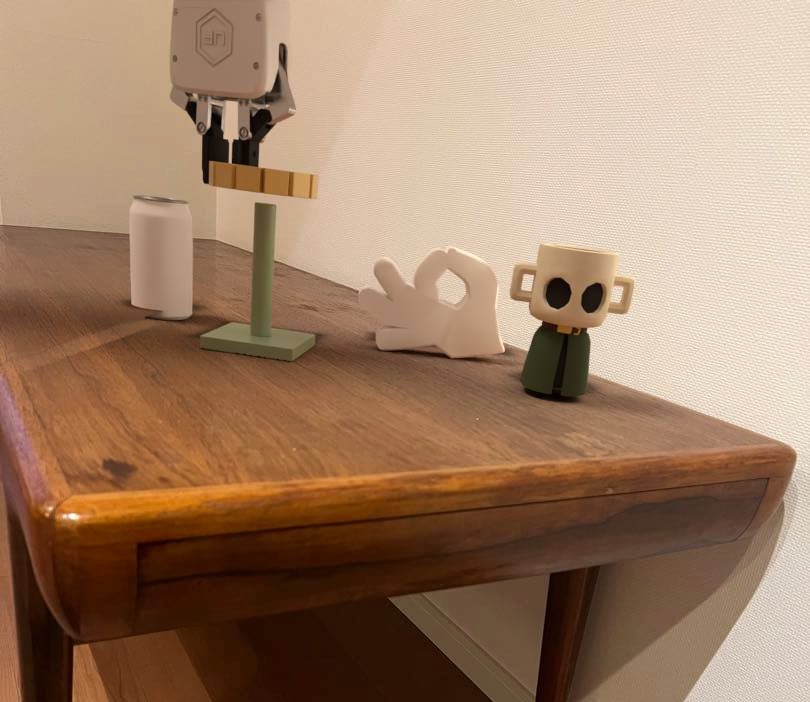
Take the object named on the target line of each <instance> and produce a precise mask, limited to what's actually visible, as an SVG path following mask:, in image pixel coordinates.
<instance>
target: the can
mask: <svg viewBox="0 0 810 702" xmlns="http://www.w3.org/2000/svg"><path fill="white" fill-rule="evenodd" d="M132 198H133V202H132V203H131V206H130V208H129V210H128V211H129V213H128V218H129V219H128V225H129V227H128V229H129V266H130V268H129V269H130V297H131V298H130V300H131V305H132V306H134V307H137V308H140V309H146V310H153V311H159V312H155V313H152V314H149V315H145V316H143V318H144V319H150V320H157V321H158V320H159V321H183V320H188V319H190V317H191V316H192V315H193V293H194V292H193V289H194V286H193V285H194V284H193V283H194V280H193V279H194V275H193V274H194V273H193V272H194V271H193V270H194V224H193V223H194V221H193V220H194V219H193V216H192V213H191V211H190V208H189V203H190V201H187V200H184V199H176V198H169V197H162V196H152V195H151V196H150V195H141V194H140V195H139V194H138V195H137V194H134V195H132Z"/></svg>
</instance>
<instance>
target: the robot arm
mask: <svg viewBox="0 0 810 702" xmlns="http://www.w3.org/2000/svg"><path fill="white" fill-rule="evenodd" d="M292 43H293V41H292V18H291V4H290V0H173V3H172V11H171V26H170V40H169V79H170V83H171V85H172V87H171V90H170V93H169V99H170V101H171V102H172V103H174V104H175V105H176V106H177V107H179V108H180V109H181V110H183V111H185V112H186V113H187V114H188V116H189V118H190V119H191V120H192V122H193V123H194V125H195V130H196V132H197V134H198V135H200V136H201V171H202V182H203V184H205V185H209V161H215V162H223V163H230V142H229V139H227V138H224V136H225V127H226V113H227V101H228V102H236V103H237V135H238V139H237V138H233V139H232V143H231V164H238V165H245V166H253V167H259V166H260V165H259V164H260V163H259V162H260V144H263V143H265V141H266V137H267V135H268V134H269V133H270V131H271V130H272V129H273V128H274V127H275V126H276V125H277V123H281V122H284V121H285V120H287V119H289V118H291V117H294V115H295V114H296V113H297V106H296V103H295V100H294V96H293V93H292V90H291V81H292V57H293V55H292V53H293V51H292V50H293V49H292V45H293V44H292ZM194 95H196V97H195V96H194Z"/></svg>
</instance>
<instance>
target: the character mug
mask: <svg viewBox="0 0 810 702" xmlns="http://www.w3.org/2000/svg"><path fill="white" fill-rule="evenodd" d="M537 250H538V251H537V257H536V262H535V263H532V262H524V261H519V262H516V263H515V264H514V267H513V269H512V275H511V282H510V288H509V297H510V299H511V300H513V301H515V302H523V303H528V310H529V315H530V316H532V317H533V318H535V319H536V320H538V321H541V325H539V327H537V328H536V330H535V332H534V333H533V336H532V339H531V342H530V345H529V348H528V351H527V355H526V357H525V360H524V363H523V367H522V372H521V374H520V378H519V381H520V383H521V385H522V386H523V387H524V388H526V389H529V390H531V391H533V392H536V393H542V394H545V395H552V391H553V389H561V391H560V396H562V397H580V396H584V395H585V394H586V391H587V388H588V381H589V380H588V379H589V371H590V357H591V346H592V345H591V344H592V343H591V342H592V341H591V337H590V334H589V333H588V329H590V328H591V329H592V328H598V327H601V326H602V325H603V323H604V322H605V320H606V319H607V316H608V313H609V314H616V315H625V314H628V313H629V311H630V309H631V305H632V301H633V297H634V292H635V290H636V289H635V288H636V277H633V276H631V275H625V274H617V271H618V266H619V261H620V253H618V252H614V251H610V250H605V249H600V248H593V247H587V246H578V245H571V244H563V243H551V242H541V243H539V247H538V249H537ZM525 275H528V276H529V275H530V276H533V279H532V285H531V290H523V289H522V287H523V280H524V276H525ZM614 287H619V288H620V287H622V288H623V289H622V293H621V297H620V301H619V302H616V301H611V297H612V295H613V294H612V293H613V290H614V289H613V288H614Z"/></svg>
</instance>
